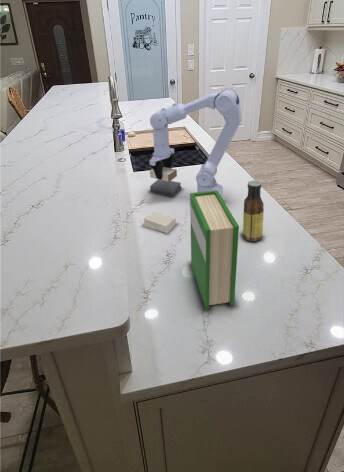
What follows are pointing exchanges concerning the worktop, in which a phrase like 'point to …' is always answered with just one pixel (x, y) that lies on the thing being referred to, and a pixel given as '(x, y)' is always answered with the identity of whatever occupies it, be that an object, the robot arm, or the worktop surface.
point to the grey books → (165, 187)
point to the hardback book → (213, 247)
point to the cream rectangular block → (159, 222)
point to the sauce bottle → (253, 213)
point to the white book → (165, 174)
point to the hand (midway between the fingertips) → (163, 175)
